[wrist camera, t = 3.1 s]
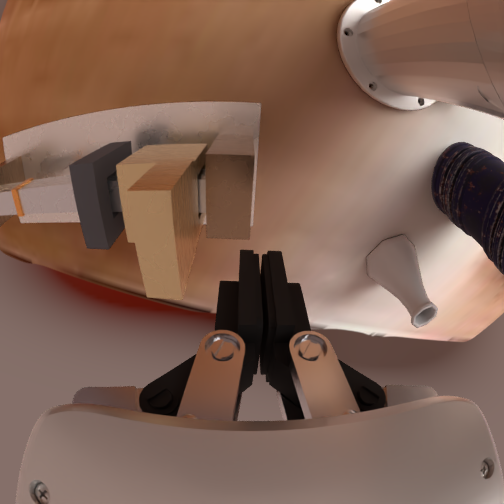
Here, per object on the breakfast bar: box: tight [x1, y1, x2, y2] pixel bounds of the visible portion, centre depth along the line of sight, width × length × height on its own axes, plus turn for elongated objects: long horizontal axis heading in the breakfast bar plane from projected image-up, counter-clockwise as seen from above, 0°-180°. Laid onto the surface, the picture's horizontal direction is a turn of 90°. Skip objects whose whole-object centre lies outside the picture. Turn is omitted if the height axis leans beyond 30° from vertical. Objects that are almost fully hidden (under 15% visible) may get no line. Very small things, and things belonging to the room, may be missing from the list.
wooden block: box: [116, 144, 208, 300], centre depth 16 cm, size 5×6×11 cm
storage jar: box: [432, 142, 504, 274], centre depth 18 cm, size 10×10×15 cm
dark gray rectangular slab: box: [69, 141, 132, 249], centre depth 18 cm, size 2×6×6 cm, turn 177°
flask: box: [366, 235, 438, 328], centre depth 27 cm, size 7×7×10 cm
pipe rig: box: [0, 101, 261, 240], centre depth 20 cm, size 31×12×8 cm, turn 87°
